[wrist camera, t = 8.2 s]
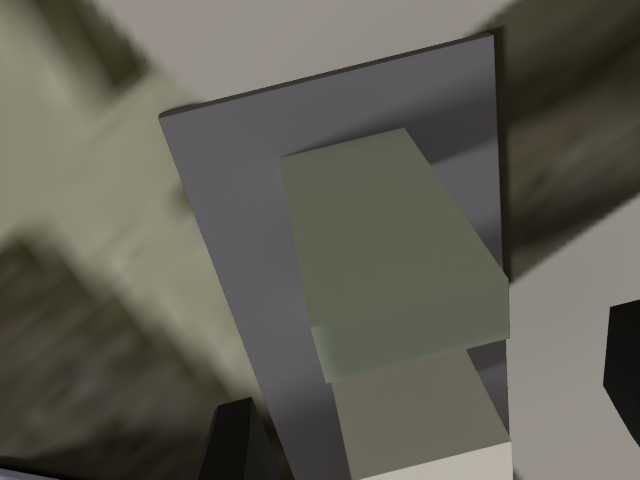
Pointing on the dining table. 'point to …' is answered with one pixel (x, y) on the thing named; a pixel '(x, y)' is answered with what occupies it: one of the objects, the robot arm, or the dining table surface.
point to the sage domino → (387, 258)
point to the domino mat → (274, 222)
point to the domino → (423, 423)
